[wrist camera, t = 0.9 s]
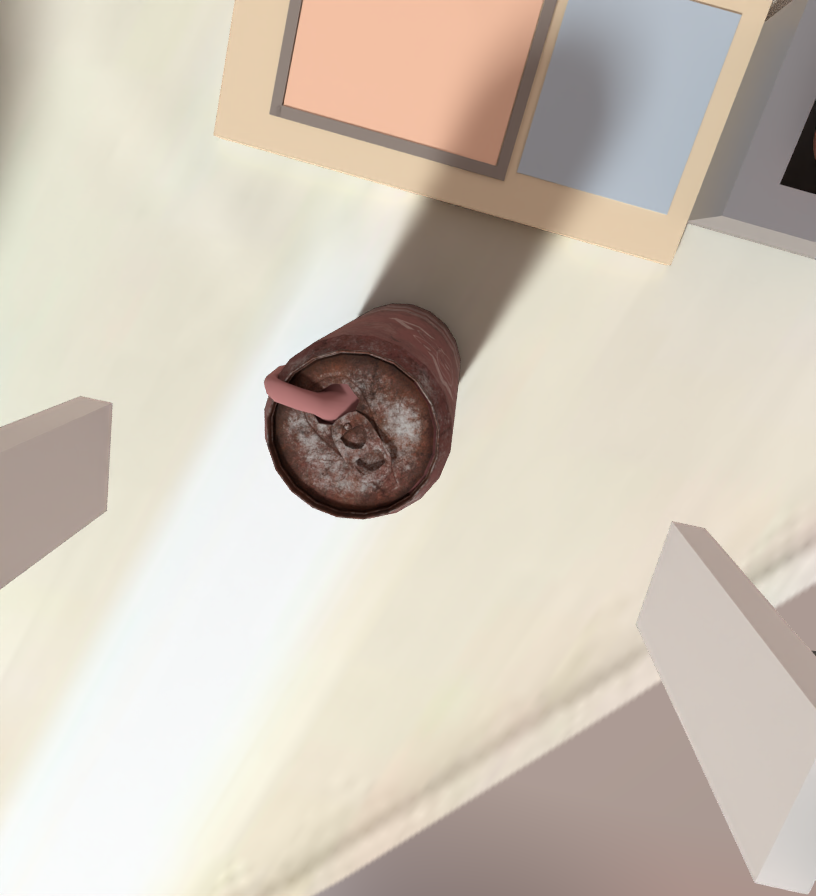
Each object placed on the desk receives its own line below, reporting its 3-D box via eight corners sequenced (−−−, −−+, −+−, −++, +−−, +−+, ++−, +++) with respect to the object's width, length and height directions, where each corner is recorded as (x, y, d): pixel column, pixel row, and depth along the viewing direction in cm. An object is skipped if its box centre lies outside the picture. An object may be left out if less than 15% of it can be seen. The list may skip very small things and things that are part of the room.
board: (220, 137, 31) (212, 134, 30) (269, -166, 27) (262, -181, 26) (665, 264, 30) (671, 265, 30) (776, -26, 27) (787, -35, 26)
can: (361, 281, 32) (280, 303, 19) (479, 330, 32) (482, 386, 19) (321, 392, 34) (222, 483, 21) (433, 438, 34) (406, 558, 21)
